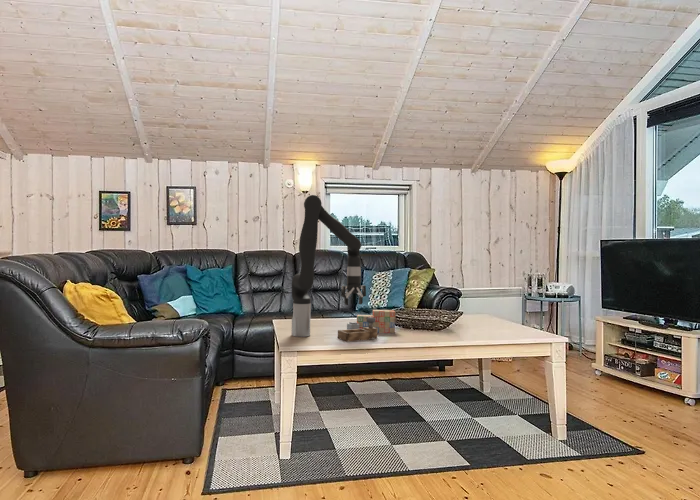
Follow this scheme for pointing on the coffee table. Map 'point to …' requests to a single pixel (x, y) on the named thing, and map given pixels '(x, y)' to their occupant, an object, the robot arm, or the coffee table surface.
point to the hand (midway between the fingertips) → (353, 304)
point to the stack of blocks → (379, 321)
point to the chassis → (358, 333)
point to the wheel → (371, 319)
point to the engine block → (352, 325)
